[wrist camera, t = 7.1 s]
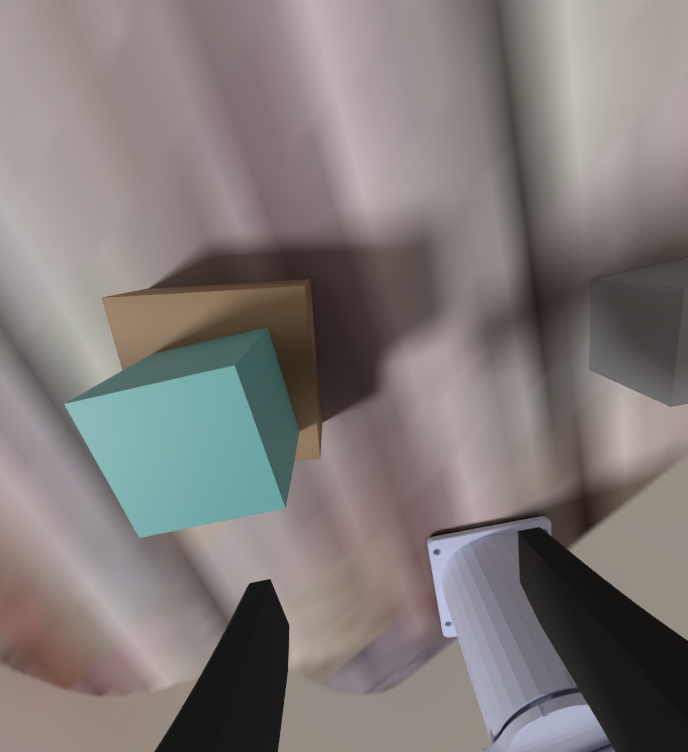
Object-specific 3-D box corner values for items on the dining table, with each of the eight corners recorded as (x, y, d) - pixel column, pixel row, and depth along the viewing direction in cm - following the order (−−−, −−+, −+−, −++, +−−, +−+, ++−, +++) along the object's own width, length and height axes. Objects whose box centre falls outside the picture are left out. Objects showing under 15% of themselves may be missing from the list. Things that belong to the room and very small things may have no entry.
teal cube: (299, 431, 16) (285, 507, 11) (196, 454, 16) (139, 537, 11) (267, 327, 14) (234, 365, 9) (152, 353, 14) (64, 404, 10)
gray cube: (679, 349, 19) (793, 382, 14) (588, 369, 19) (670, 406, 14) (690, 256, 17) (823, 257, 13) (590, 278, 18) (684, 288, 13)
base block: (322, 419, 20) (320, 458, 16) (185, 428, 20) (151, 469, 16) (310, 278, 17) (304, 286, 14) (151, 287, 17) (101, 297, 14)
